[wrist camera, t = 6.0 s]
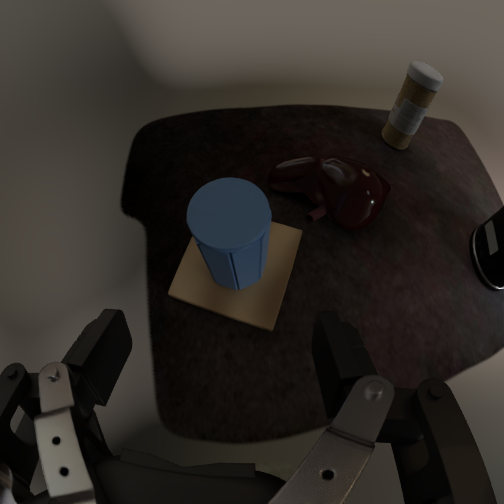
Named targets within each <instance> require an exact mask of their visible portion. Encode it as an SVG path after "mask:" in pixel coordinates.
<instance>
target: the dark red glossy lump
mask: <svg viewBox="0 0 504 504" xmlns="http://www.w3.org/2000/svg"><path fill="white" fill-rule="evenodd" d="M268 185H269V187H270V188H271V189H272V190H274V191H277V192H281V193H298V192H301V193H304V194H306V195H307V196H308V198H309V199H310V200H311V201H312V202H313V203H314V204H315V205H316V206H317V207H318V208H317V209H315V210H313V211H312V212H310V213H308V214H307V215H306V216H305V220H306V221H307V222H308V223H313V222H314V221H315V220H317V219H318V218H320V217H322V216H324V215H325V216H326V217H327V218H328V219H329V220H331V221H332V222H333V223H335V224H336V225H338V226H339V227H341V228H343V229H346V230H358V229H361V228H364V227H366V226H368V225H369V224H370V223H372V222H373V220H374V219H375V218H376V217H377V215H378V214H379V212H380V210H381V208H382V206H383V204H384V202H385V199H386V196H387V195H388V194H389V192H390V189H391V186H390V184H389V183H388V182H387V181H386V180H385V179H384V178H382V177H381V176H380V175H378V174H376V173H375V172H374V171H373V170H372V169H370V168H369V167H367V166H366V165H364V164H362V163H360V162H357V161H354V160H351V159H348V158H344V157H340V156H334V157H330V158H326V157H323V156H319V155H309V156H303V157H297V158H293V159H289V160H286V161H283V162H281V163H279V164H277V165H276V166H274V167H273V169H272V170H271V172H270V174H269V177H268Z"/></svg>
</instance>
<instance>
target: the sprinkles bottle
mask: <svg viewBox="0 0 504 504" xmlns="http://www.w3.org/2000/svg"><path fill="white" fill-rule="evenodd" d="M442 82H443V77H442V76H441V75H440V74H439V72H438V71H436V70H435V69H434V68H432V67H431V66H429V65H428V64H426V63H423V62H421V61H417V60H412V61H411V62H410V65H409V67H408V70H407V77H406V79H405V81H404V84H403V86H402V89H401V91H400V93H399V95H398V97H397V99H396V101H395V104H394V106H393V108H392V110H391V113H390V115H389V119H388V121H387V123H386V125H385V127H384V128H383V130H382V137H383V139H384V140H385V142H386V143H388V144H389V145H390V146H392V147H394V148H396V149H399V150H403V149H406V148H407V147H408V144H409V142H410V140H411V138H412V136H413V134H414V133H415V132H416V130H417V129H418V127H419V125H420V123H421V121H422V120H423V118H424V116H425V114H426V112H427V110H428V108H429V105H430V103H431V102H432V99H433V98H434V96H435V93H437V91H438V90H439V89H440V87H441V85H442Z"/></svg>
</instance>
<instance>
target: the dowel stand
mask: <svg viewBox="0 0 504 504" xmlns="http://www.w3.org/2000/svg"><path fill="white" fill-rule="evenodd" d="M301 235H302V230H299V229H296V228H292V227H289V226H285V225H282V224H279V223H275V222H272V221H271V226H270V235H269V245H268V254H267V262H266V265H265V268H264V271H263V274H262V276H261V279H259V281H258V282H256V283H254V284H252V285H250V286H248V287H245V288H243V289H241V290H239V288H238V289H237V290H234V289H231V288H228V287H225V286H222V285H219V284H217V282H215V281H214V279H213V277H212V275H211V273H210V271H209V269H208V267H207V265H206V263H205V261H204V259H203V257H202V255H201V253H200V250H199V248H198V246H197V244H196V242H195V240H194V237H193V236H192V238H191V241H190V243H189V245H188V247H187V250H186V252H185V254H184V256H183V259H182V261H181V263H180V266H179V268H178V270H177V273H176V275H175V277H174V280H173V282H172V284H171V287H170V289H169V292H168V294H169V295H170V296H171V297H173V298H176V299H179V300H181V301H184V302H186V303H189V304H192V305H194V306H197V307H200V308H203V309H205V310H208V311H211V312H214V313H217V314H219V315H222V316H225V317H228V318H231V319H234V320H237V321H240V322H243V323H246V324H249V325H252V326H255V327H258V328H261V329H265V330H268V331H271V332H272V330H273V328H274V325H275V322H276V319H277V315H278V312H279V309H280V306H281V303H282V300H283V296H284V293H285V290H286V287H287V283H288V280H289V277H290V273H291V270H292V266H293V263H294V260H295V256H296V253H297V249H298V246H299V242H300V239H301Z"/></svg>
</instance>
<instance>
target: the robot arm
mask: <svg viewBox="0 0 504 504" xmlns="http://www.w3.org/2000/svg"><path fill="white" fill-rule="evenodd" d="M470 253H471V258H472V262H473V265H474V268H475V270H476V272H477V274H478V276H479V278H480V279H481V281H482V282H483V283H484V285H485V286H487V287H488V288H489V289H491V290H493V291H499V290H502V289H504V206H503V207H502V208H501V209H500V210H499V211H497V212H496V213H495V214H494V215H493V216H491V217H490V218H489V219H488V220H487V221H485V222H484V223H483V224H481V225H479V226H478V227H477V228H476V229H475V230H474V231H473V232H472V234H471V238H470ZM131 350H132V338H131V335H130V331H129V328H128V325H127V322H126V319H125V316H124V313H123V312H122V310H115V309H104V310H103V312H102V313H101V314H100V316H99V317H98V318H97V319H95V320H94V321H92V322H91V323H89V324H88V325H87V326H86V327H85V328H84V330H83V331H82V333H81V335H79V337H78V338H77V341H75V342H74V344H73V345H72V347H71V348H70V349H69V351H68V352H67V354H66V355H65V357H64V358H63V360H62V361H61V362H53V363H50V364H48V365H46V366H45V367H44V368H43V369H42V370H41V371H40V373H28V372H27V371H26V369H25V368H24V366H23V365H22V364H20V363H13V364H10V365H9V366H7V367H6V368H5V369H4V371H3V372H2V373H1V375H0V504H344V502H345V501H346V499H347V498H348V496H349V494H350V493H351V491H352V490H353V488H354V486H355V484H356V483H357V481H358V479H359V477H360V476H361V474H362V472H363V470H364V468H365V466H366V465H367V463H368V461H369V459H370V457H371V455H372V452H373V450H374V448H375V445H374V443H375V442H380V443H391V447H392V450H393V454H394V458H395V462H396V466H397V470H398V474H399V479H400V483H401V488H402V492H403V497H404V502H405V504H497V502H496V498H495V495H494V492H493V488H492V486H491V482H490V479H489V476H488V473H487V470H486V467H485V465H484V462H483V459H482V457H481V454H480V452H479V449H478V447H477V444H476V442H475V440H474V437H473V435H472V433H471V430H470V428H469V426H468V424H467V422H466V420H465V417H464V415H463V413H462V411H461V409H460V407H459V405H458V403H457V401H456V399H455V397H454V395H453V393H452V391H451V389H450V388H449V386H448V385H447V384H446V383H444V382H443V381H441V380H438V379H427V380H424V381H423V382H421V383H420V385H419V386H418V388H417V389H406V388H396V387H393V385H392V383H391V382H390V381H389V380H387V379H386V378H384V377H382V376H379V375H378V374H377V371H376V369H375V367H374V365H373V363H372V360H371V358H370V356H369V354H368V352H367V350H366V348H365V345H364V343H363V341H362V340H361V337H360V335H359V333H358V331H357V329H356V328H354V327H353V326H352V325H351V324H350V323H349V322H343V323H341V321H340V319H339V317H338V314H337V312H336V311H321V312H317V313H316V316H315V323H314V330H313V337H312V355H313V360H314V364H315V368H316V372H317V376H318V380H319V384H320V388H321V393H322V397H323V401H324V406H325V410H326V415H327V419H330V418H335V419H334V420H333V422H332V424H331V425H330V426H329V428H326V430H325V431H324V432H323V434H322V435H321V436H320V438H319V439H318V441H317V442H316V444H315V445H314V447H313V448H312V450H311V451H310V452H309V454H308V455H307V456H306V458H305V459H304V460H303V462H302V463H301V464H300V466H299V467H298V468H297V469H296V471H295V472H294V473H293V474H292V476H291V477H290V478H289V479H288V481H287V482H286V481H284V480H282V479H280V478H278V477H276V476H274V475H271V474H268V473H264V472H260V471H255V463H214V464H207V465H199V466H189V467H183V466H179V465H177V464H174V463H171V462H169V461H167V460H164V459H162V458H159V457H157V456H155V455H152V454H147V453H142V452H138V451H133V450H129V449H125V448H123V449H122V452H121V455H118V456H113V455H112V453H111V452H110V450H109V448H108V446H107V444H106V441H105V439H104V436H103V434H102V431H101V428H100V425H99V422H98V419H97V416H96V413H95V411H94V410H93V408H94V406H95V404H97V405H101V406H106V404H107V402H108V399H109V397H110V395H111V393H112V391H113V388H114V386H115V384H116V382H117V380H118V378H119V375H120V373H121V371H122V369H123V367H124V365H125V363H126V361H127V358H128V356H129V354H130V352H131ZM18 405H19V406H20V407H21V408H22V409H23V410H24V412H25V414H24V416H23V418H22V420H21V422H20V424H19V426H18V428H17V430H16V433H15V434H14V433H13V432H12V430H11V428H10V421H11V419H12V417H13V415H14V413H15V411H16V409H17V407H18ZM39 457H40V461H41V465H42V470H43V473H44V478H45V482H46V485H47V490H45V491H44V492H41V493H39V494H37V495H36V496H34V494H33V493H32V492H30V484H31V480H32V477H33V474H34V471H35V468H36V466H37V463H38V460H39Z"/></svg>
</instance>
